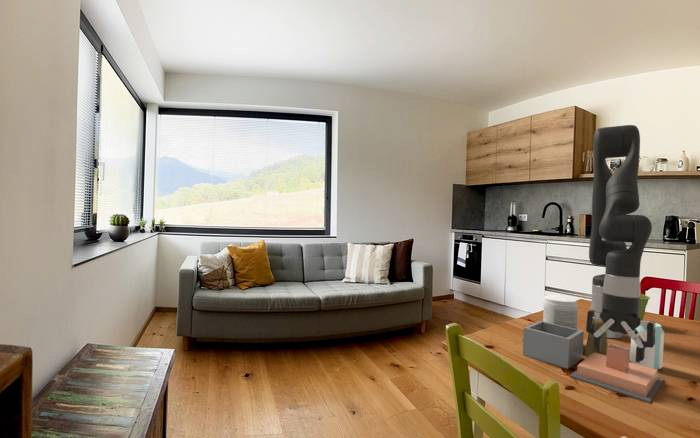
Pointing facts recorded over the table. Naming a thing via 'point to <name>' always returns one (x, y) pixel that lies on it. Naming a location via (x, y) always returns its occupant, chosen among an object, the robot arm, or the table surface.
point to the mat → (622, 391)
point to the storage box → (553, 343)
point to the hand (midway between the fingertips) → (617, 356)
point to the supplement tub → (560, 311)
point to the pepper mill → (590, 340)
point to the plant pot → (643, 305)
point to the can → (651, 354)
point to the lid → (618, 370)
